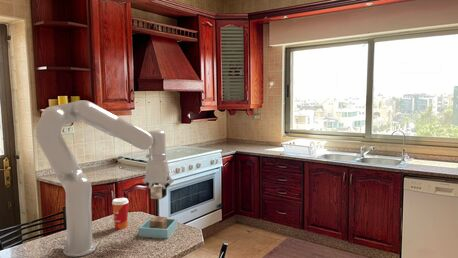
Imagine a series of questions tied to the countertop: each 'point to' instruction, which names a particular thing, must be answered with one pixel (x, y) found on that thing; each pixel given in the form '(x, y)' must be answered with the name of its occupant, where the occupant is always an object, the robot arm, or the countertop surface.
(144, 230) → the tote
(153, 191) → the birch block
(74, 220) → the robot arm
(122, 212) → the paper cup
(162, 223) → the walnut block
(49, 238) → the countertop surface
